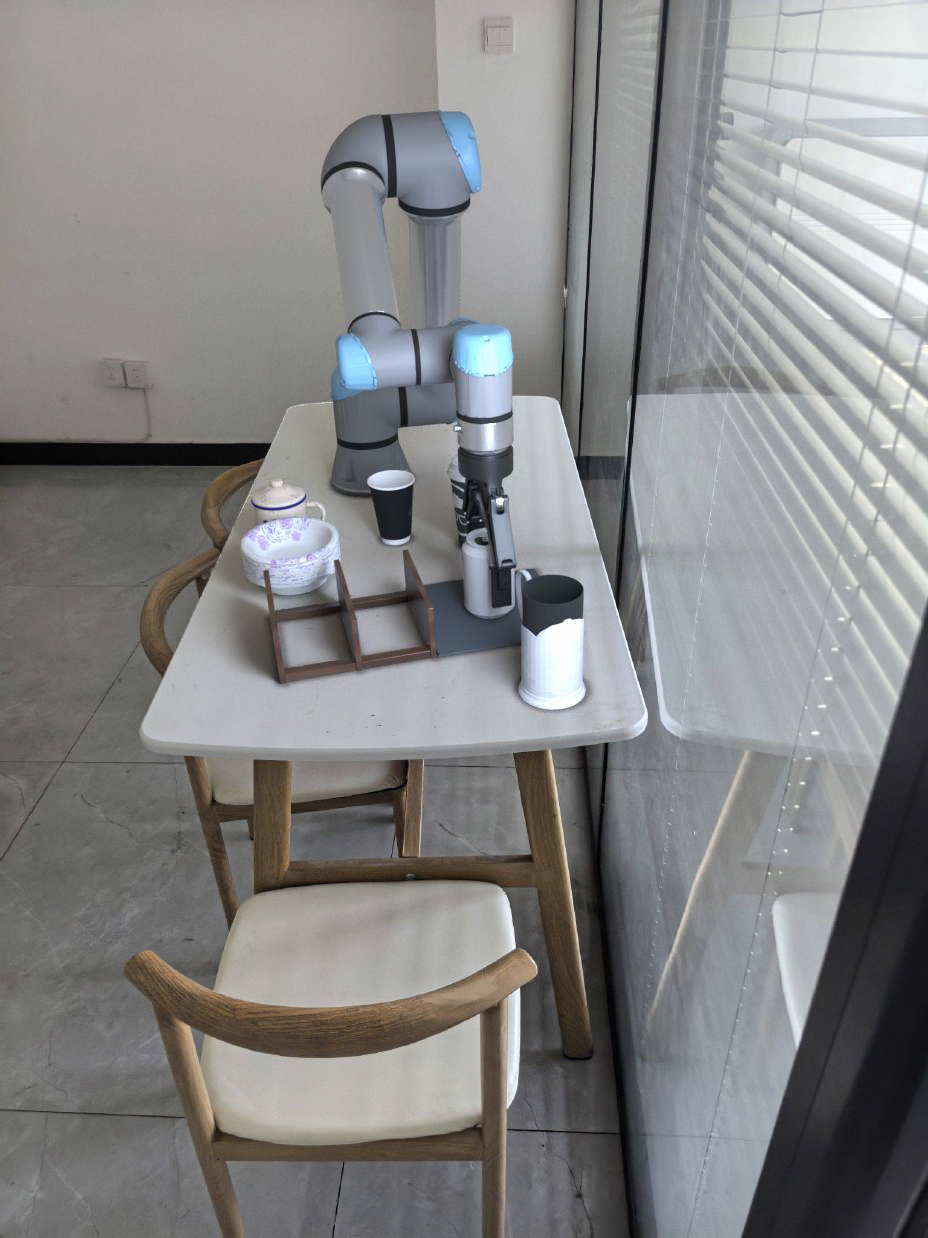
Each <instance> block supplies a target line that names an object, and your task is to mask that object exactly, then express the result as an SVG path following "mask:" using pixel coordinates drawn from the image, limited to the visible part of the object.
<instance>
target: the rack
mask: <svg viewBox="0 0 928 1238" xmlns="http://www.w3.org/2000/svg"><path fill="white" fill-rule="evenodd" d="M402 558H403V559H402V560H403V573H404V584H405V585H404V586H405V590H399V591H392V592H387V593H379V594H374V595H368V596H361V597H353V598H351V594H350V592H349V591H350V590H349V588H348V585H347V581H346V577H345V574H344V571H343V567H342V565H341V564H342V563H341V564H340V561H339V559H338V560H334V566H335V572H334V573H335V582H336V591H337V597H338V600H335V601H328V602H322V603H321V602H320V603H316V604H315V603H314V604H308V605H302V606H296V607H295V606H294V607H289V608H282V609H276V606H275V601H274V595H273V594H274V593H272V588H271V582H270V576H269V570H263V574H264V581H265V588H266V589H265V588H264V589H265V595H266V601H267V608H268V614H269V622H270V628H271V635H272V641H273V646H274V654H275V659H276V665H277V671H278V678H279V682H280V684H286V683H289V682H294V681H301V680H307V679H312V678H313V679H314V678H318V677H319V678H320V677H324V676H325V677H326V676H330V675H331V676H332V675H338V674H343V673H349V672H354V671H357V672H358V671H359V672H361V671H363V670H367V669H372V668H377V667H384V666H391V665H396V664H397V665H398V664H402V663H408V662H415V661H420V660H427V659H436V658H437V657H438V654H437V651H436V639H435V623H434V608H433V606H432V604H431V601H430V599H429V597H428V594H427V592H426V590H425V588H424V585H425V584H424V583H423V581H422V579H421V576H420V574H419V572H418V570H417V567H416V565H415V563H414V561H413V558H412V556H411V554H410V551H409V550H408V549H403V550H402ZM406 603H408V604H409V607H410V609H411V612H412V614H413V616H414V619H415V622H416V624H417V627H418V630H419V632H420V634H421V637H422V639H423V642H424V645H420V646H413V647H407V648H401V649H397V650H396V649H394V650H389V651H383V652H377V653H370V654H365V655H362V651H361V642H360V633H359V623H358V618H357V615H356V611H359V610H366V609H373V608H380V607H385V606H392V605H398V604H406ZM335 614H341V618H342V621H343V625H344V628H345V632H346V636H347V640H348V643H349V647H350V651H351V654H352V655H351V656H352V657H347V658H346V657H345V658H340V659H334V660H329V661H328V660H327V661H322V662H316V663H309V664H304V665H297V666H291V667H287V668H285V663H284V658H283V651H282V645H281V638H280V633H279V632H280V631H279V626H278V623H282V622H290V621H296V620H302V619H303V620H304V619H309V618H314V617H321V616H327V615H335Z"/></svg>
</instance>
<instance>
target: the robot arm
mask: <svg viewBox="0 0 928 1238" xmlns="http://www.w3.org/2000/svg"><path fill="white" fill-rule="evenodd" d="M477 141H478V140H477V137H476V132H475V128H474V126H473V123H472V120H471V118H470V117H469V115H468V114H466V113H465V112H462V111H461V110H458V111H456V110H452V111H451V110H450V111H449V110H448V111H447V110H445V111H444V110H441V109H438V110H430V111H416V112H415V111H414V112H401V113H388V114H386V113H385V114H381V113H377V114H376V113H374V114H369V115H365V116H363V117H360V118H358V119H356V120H354V121H353V122H351V123H350V124H349V125H347V126H346V127H345V128H344V129H343V130H342V131H341V132H340V133H339V134H338V135H337V137H336V138H335V140H334V141H333V142H332V144H331V145H330V147H329V149H328V151H327V153H326V156H325V158H324V160H323V165H322V167H321V173H320V192H321V193H320V194H321V199H322V203H323V206H324V207H325V209H326V211H327V212H328V213H329V214H330V216H331V222H332V229H333V238H334V244H335V253H336V259H337V267H338V274H339V282H340V288H341V297H342V305H343V310H344V318H345V319H344V320H345V325H346V326H345V327H346V333H345V334H340V335H337V337H336V338H335V339H334V340H335V341H334V342H335V343H334V344H335V357H336V363H337V366H336V367H334V368H333V370H332V372H331V374H330V398H331V400H332V407H333V416H334V418H333V419H334V427H335V428H334V429H335V437H336V450H335V455H334V459H333V464H332V468H331V474H330V475H331V477H330V479H331V480H330V481H331V486H332V487H333V489H334V490H335V491H337V492H339V493H340V494H343V495H347V496H352V497H362V498H364V497H366V498H368V497H369V498H370V497H372V496H371V491H370V486H369V485H368V484H367V480H368V478H369V477H370V476H371V475H373V474H375V473H378V472H381V471H387V470H402V471H407V472H409V473H411V474H412V471H411V467H410V464H409V462H408V460H407V458H406V454H405V452H404V450H403V448H402V445H401V443H400V439H399V429H401V428H402V429H403V428H412V427H422V426H424V427H425V426H433V425H443V424H445V425H452V424H453V425H452V431H453V432H454V433H456V435H457V436H456V437H457V444H458V448H457V454H458V470H459V473H460V474H461V475H462V476H463V477H464V478H465V487H464V496H463V504H462V511H463V512H464V513H466V515H465V519H466V521H467V522H468V521H469V523H467V535H468V534H469V533H470V532H472V531H473V530H476V529H480V528H486V530H487V535H488V540H489V546H490V551H491V556H492V561H493V564H490V565H489V566H488V568H489V570H491V596H492V607H493V608H499V607H505V606H511V605H512V584H511V569H514V570H515V569H517V566H518V564H517V560H516V559H517V558H516V551H515V544H514V537H513V529H512V524H511V523H512V522H511V516H510V498H509V496H508V494H505V490H504V486H502V487H500V481H501V480H502V481H503V480H504V479H505V478H507V477H509V476H510V475H512V474H513V471H514V446H513V445H512V444H513V443H514V442H515V441H514V440H515V439H514V435H515V433H514V412H513V411H514V410H513V363H514V351H513V345H512V334H511V331H510V330H508V328H507V327H505V326H501V325H499V324H494V323H481V322H479V321H478V320H476V319H473V318H472V317H471V318H470V317H462V310H461V309H462V215H464V214H465V213H466V212H468V210H469V209H470V207H471V194H472V195H476V193H479V192H481V191H482V183H483V181H482V179H483V178H482V166H481V158H480V154H479V153H480V152H479V147H478V142H477ZM386 198H387V199H392V198H394V199H395V198H397V204H398V205H397V206H398V208H399V209H400V210H399V211H401V212H402V213H404V215H406V216H407V219H408V243H409V247H408V248H409V267H410V268H409V272H410V273H409V275H410V295H411V296H410V299H411V322H412V323H411V324H412V327H411V328H410V329H409V328H408V329H402V325H401V324H402V323H401V317H400V312H399V306H398V299H397V293H396V287H395V281H394V275H393V269H392V262H391V257H390V251H389V243H388V239H387V232H386V225H385V220H384V213H383V207H384V205H385V203H386ZM454 423H455V424H454ZM480 520H482V521H480Z"/></svg>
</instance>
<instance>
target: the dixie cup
mask: <svg viewBox="0 0 928 1238" xmlns="http://www.w3.org/2000/svg"><path fill="white" fill-rule="evenodd" d="M415 481H416V477H415V474H413V473H412V472H411V473H409V472H407V471H402V470H387V471H381V472H378V473H375V474H373V475H371V476H370V477H369V478H368V480H367V484H368V485H369V486H370V491H371V496H370V497H371V500H372V505H373V509H374V514H375V520H376V523H377V529H378V533H379V537H380V538H381V541H382V543H384V544H386V545H389V546H399V545H403V544H406V543H408V542H409V541H410V540H411V534H412V528H413V526H412V525H413V504H414V503H413V501H414V483H415Z"/></svg>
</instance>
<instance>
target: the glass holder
mask: <svg viewBox="0 0 928 1238" xmlns="http://www.w3.org/2000/svg"><path fill="white" fill-rule="evenodd" d="M517 571H518V572H517V574H516V596H517V603H518V608H519V613H520V617H521V620H522V622H521V644H520V646H521V649H520V650H521V651H520V652H521V653H520V654H521V657H520V658H521V680H520V682H519V684H518V687H517V688H518V689H517V691H518V694H519V695H518V696H520V698H521V699H522V700H523V701H524V702H525V703H527V704H528V705H530V706H533V707H535V708H538V709H542V710H550V711H551V710H552V711H553V710H563V709H567V708H571V707H573V706H575V705H577V704H578V703H580V702H581V701H582V700H583V699H584V697H585V695H586V691H587V689H586V685H585V683H584V680H583V679H584V678H583V677H584V675H583V674H584V672H583V671H584V645H585V642H584V641H585V617H584V600H585V599H584V598H585V597H584V596H585V594H584V593H585V589H584V585H583V584H582V583H581V581H579V580H577V579H575V578H574V577H571V576H567V575H564V574H563V575H562V574H554V573H553V574H542V575H539V576H537V577H534V578H531V576H530V574H529V573H528V572H527V571H526V569H520V570H517ZM522 574H523V575H524V576H525V578H526V580H527V582H526V583H525V584H524V585H523V588H522V594H521V575H522Z"/></svg>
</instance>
